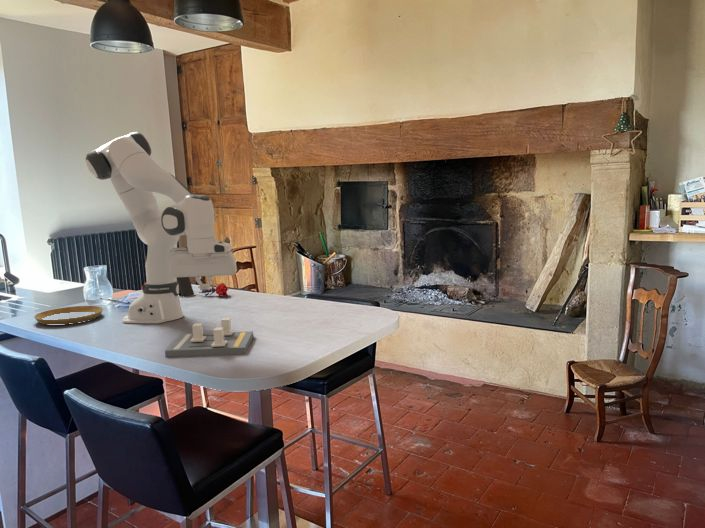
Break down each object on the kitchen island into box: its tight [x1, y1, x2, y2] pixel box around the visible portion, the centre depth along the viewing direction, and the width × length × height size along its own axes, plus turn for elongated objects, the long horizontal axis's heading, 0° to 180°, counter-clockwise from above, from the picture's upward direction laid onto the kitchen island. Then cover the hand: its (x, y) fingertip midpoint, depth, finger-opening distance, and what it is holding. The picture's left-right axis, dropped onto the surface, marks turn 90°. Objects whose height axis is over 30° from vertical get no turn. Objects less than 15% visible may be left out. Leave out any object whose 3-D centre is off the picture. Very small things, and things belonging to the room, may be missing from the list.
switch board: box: [164, 330, 254, 358], centre depth 173 cm, size 24×18×2 cm
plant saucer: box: [33, 305, 104, 325], centre depth 214 cm, size 24×24×3 cm
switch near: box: [211, 326, 227, 347], centre depth 167 cm, size 4×4×5 cm
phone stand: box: [177, 277, 195, 297], centre depth 256 cm, size 9×6×12 cm, turn 56°
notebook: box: [112, 289, 137, 299], centre depth 252 cm, size 27×17×2 cm, turn 57°
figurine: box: [198, 282, 229, 298], centre depth 250 cm, size 6×8×15 cm
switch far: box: [220, 317, 235, 335], centre depth 179 cm, size 4×4×5 cm
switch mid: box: [190, 322, 206, 342], centre depth 172 cm, size 4×4×5 cm
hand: (205, 290), depth 171 cm, fingers closed
